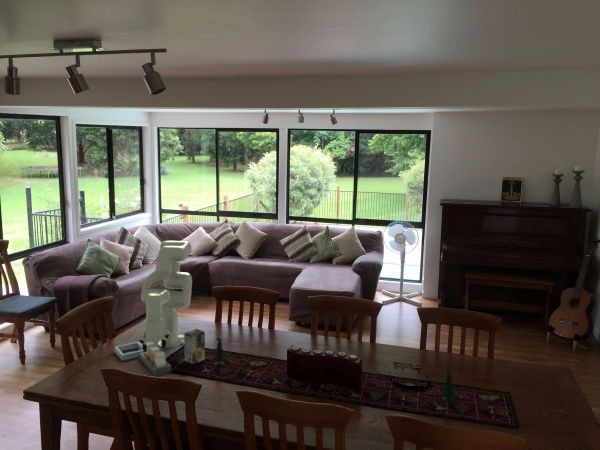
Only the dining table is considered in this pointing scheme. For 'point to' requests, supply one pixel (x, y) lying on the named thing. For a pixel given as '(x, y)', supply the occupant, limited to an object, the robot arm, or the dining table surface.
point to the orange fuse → (153, 353)
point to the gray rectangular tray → (152, 366)
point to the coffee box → (194, 346)
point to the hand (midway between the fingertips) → (154, 349)
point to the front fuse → (159, 359)
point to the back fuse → (149, 345)
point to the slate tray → (128, 347)
